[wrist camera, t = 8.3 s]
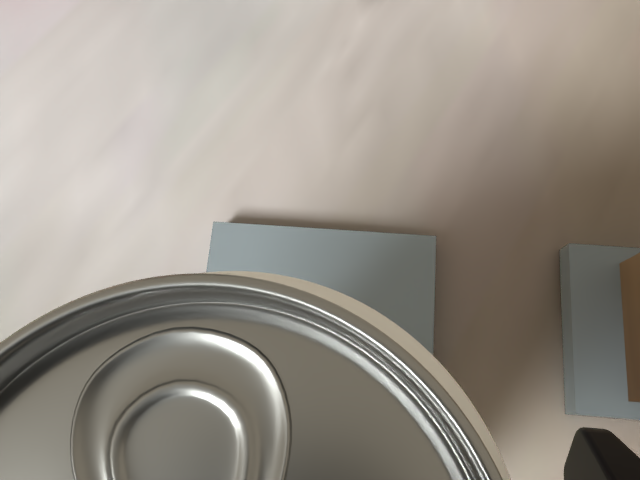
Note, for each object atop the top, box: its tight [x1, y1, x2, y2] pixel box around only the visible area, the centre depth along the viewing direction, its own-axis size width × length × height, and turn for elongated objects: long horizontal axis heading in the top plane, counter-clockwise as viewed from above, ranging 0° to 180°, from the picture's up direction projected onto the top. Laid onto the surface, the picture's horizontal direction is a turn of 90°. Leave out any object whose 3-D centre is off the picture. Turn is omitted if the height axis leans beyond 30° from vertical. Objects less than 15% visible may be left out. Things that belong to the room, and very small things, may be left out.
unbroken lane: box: [206, 222, 436, 355], centre depth 16 cm, size 14×7×1 cm, turn 175°
